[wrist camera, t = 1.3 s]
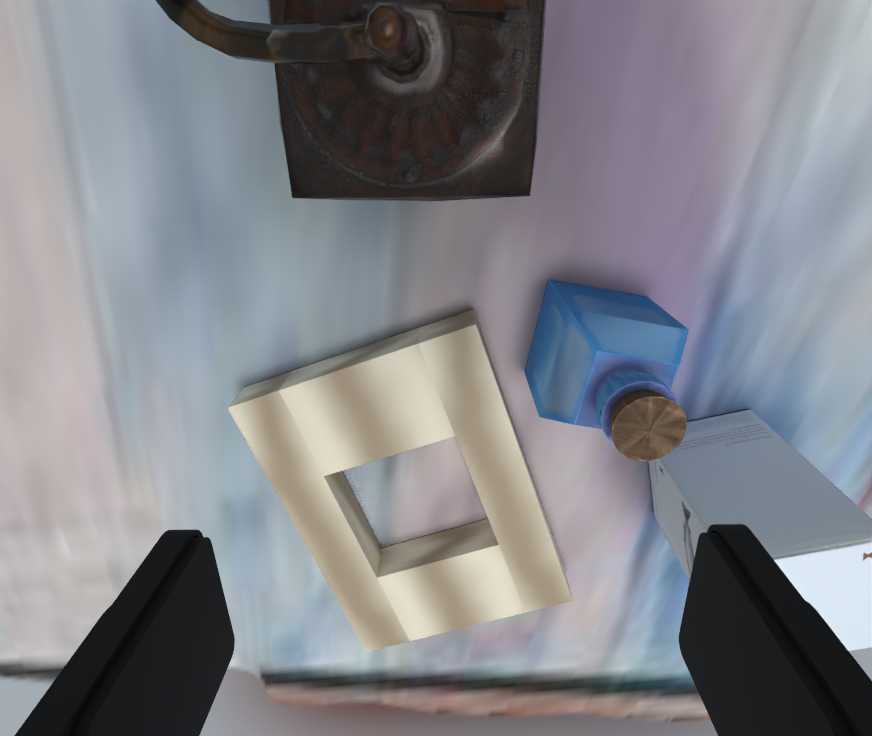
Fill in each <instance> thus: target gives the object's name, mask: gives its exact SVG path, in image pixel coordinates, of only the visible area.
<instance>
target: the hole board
mask: <svg viewBox="0 0 872 736" xmlns="http://www.w3.org/2000/svg"><path fill="white" fill-rule="evenodd" d="M228 409H229V411H230V413H231V415H232V416H233V418H234V420H235V422H236V423H237V425H238V427H239V429H240V430H241V432H242V434H243V436H244V437H245V439H246V441H247V443H248V444H249V446H250V448H251V450H252V451H253V453H254V455H255V457H256V458H257V460H258V462H259V464H260V465H261V467H262V469H263V471H264V472H265V474H266V476H267V478H268V479H269V481H270V483H271V485H272V486H273V488H274V490H275V492H276V493H277V495H278V497H279V499H280V500H281V502H282V504H283V506H284V507H285V509H286V511H287V513H288V514H289V516H290V518H291V520H292V521H293V523H294V525H295V527H296V528H297V530H298V532H299V534H300V535H301V537H302V539H303V541H304V542H305V544H306V546H307V548H308V549H309V551H310V553H311V555H312V556H313V558H314V560H315V562H316V563H317V565H318V567H319V569H320V570H321V572H322V574H323V576H324V577H325V579H326V581H327V583H328V584H329V586H330V588H331V590H332V592H333V593H334V595H335V597H336V599H337V600H338V602H339V604H340V606H341V607H342V609H343V611H344V613H345V614H346V616H347V618H348V620H349V621H350V623H351V625H352V627H353V628H354V630H355V632H356V634H357V635H358V637H359V639H360V641H361V642H362V644H363V646H364V648H365V649H366V651H367V652H368V651H372V650H376V649H380V648H384V647H388V646H392V645H396V644H400V643H404V642H408V641H412V640H416V639H420V638H424V637H428V636H432V635H436V634H440V633H444V632H448V631H452V630H456V629H460V628H464V627H468V626H472V625H476V624H480V623H484V622H488V621H492V620H496V619H500V618H504V617H508V616H512V615H516V614H520V613H524V612H528V611H532V610H537V609H541V608H545V607H549V606H553V605H557V604H561V603H565V602H569V601H573V599H572V595H571V592H570V588H569V584H568V581H567V577H566V573H565V570H564V567H563V564H562V561H561V558H560V555H559V552H558V549H557V547H556V544H555V541H554V538H553V535H552V532H551V529H550V527H549V524H548V521H547V518H546V515H545V512H544V509H543V507H542V504H541V501H540V498H539V495H538V492H537V489H536V486H535V484H534V481H533V478H532V475H531V472H530V469H529V466H528V464H527V461H526V458H525V455H524V452H523V449H522V446H521V444H520V441H519V438H518V435H517V432H516V429H515V426H514V424H513V421H512V418H511V415H510V412H509V409H508V406H507V403H506V401H505V398H504V395H503V392H502V389H501V386H500V383H499V381H498V378H497V375H496V372H495V369H494V366H493V363H492V361H491V358H490V355H489V352H488V349H487V346H486V343H485V340H484V338H483V335H482V332H481V329H480V326H479V323H478V320H477V318H476V315H475V312H474V309H472V310H469V311H466V312H463V313H460V314H457V315H454V316H452V317H449V318H446V319H443V320H440V321H437V322H434V323H431V324H428V325H425V326H422V327H419V328H416V329H413V330H410V331H408V332H405V333H402V334H399V335H396V336H393V337H390V338H387V339H384V340H381V341H378V342H375V343H372V344H369V345H367V346H364V347H361V348H358V349H355V350H352V351H349V352H346V353H343V354H340V355H337V356H334V357H331V358H328V359H325V360H323V361H320V362H317V363H314V364H311V365H308V366H305V367H302V368H299V369H296V370H293V371H290V372H287V373H284V374H282V375H279V376H276V377H273V378H270V379H267V380H264V381H261V382H258V383H255V384H252V385H249V386H246V387H244V388H243V390H242V391H241V392H240V393H239V394H238V396H237V397H236V398H235V399H234V401H233V402H232V403H231V404H230V405H229V407H228ZM454 436H455V437H456V439H457V442H458V444H459V447H460V449H461V452H462V454H463V457H464V459H465V462H466V464H467V467H468V469H469V472H470V474H471V477H472V479H473V482H474V484H475V487H476V489H477V492H478V494H479V497H480V499H481V502H482V504H483V507H484V509H485V512H486V514H487V517H488V519H485V520H481V521H477V522H474V523H470V524H467V525H463V526H460V527H456V528H452V529H449V530H445V531H442V532H438V533H434V534H431V535H427V536H424V537H420V538H417V539H413V540H409V541H406V542H402V543H399V544H395V545H391V546H388V547H384V548H381V546H380V544H379V542H378V540H377V538H376V536H375V534H374V532H373V530H372V528H371V526H370V524H369V522H368V520H367V518H366V516H365V514H364V513H363V511H362V509H361V507H360V505H359V503H358V501H357V499H356V497H355V495H354V493H353V491H352V489H351V487H350V485H349V483H348V481H347V479H346V477H345V475H344V473H343V470H346V469H349V468H353V467H356V466H359V465H362V464H366V463H369V462H372V461H376V460H379V459H382V458H385V457H389V456H392V455H395V454H398V453H402V452H405V451H408V450H412V449H415V448H418V447H421V446H425V445H428V444H431V443H434V442H438V441H441V440H444V439H448V438H451V437H454Z"/></svg>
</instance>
